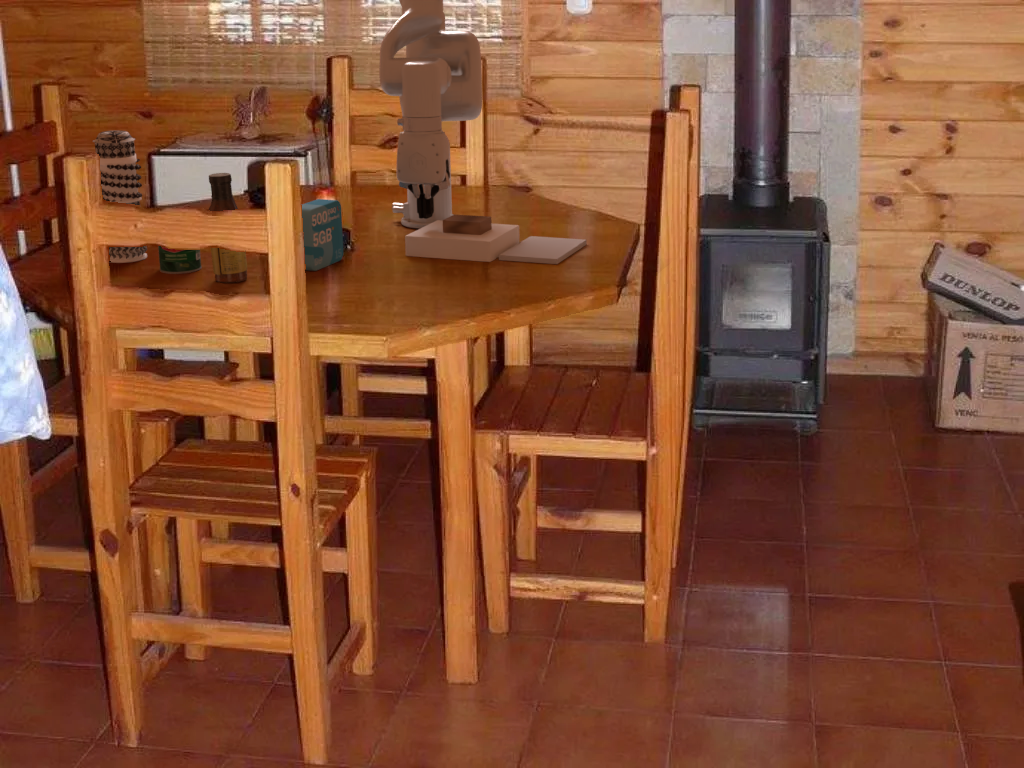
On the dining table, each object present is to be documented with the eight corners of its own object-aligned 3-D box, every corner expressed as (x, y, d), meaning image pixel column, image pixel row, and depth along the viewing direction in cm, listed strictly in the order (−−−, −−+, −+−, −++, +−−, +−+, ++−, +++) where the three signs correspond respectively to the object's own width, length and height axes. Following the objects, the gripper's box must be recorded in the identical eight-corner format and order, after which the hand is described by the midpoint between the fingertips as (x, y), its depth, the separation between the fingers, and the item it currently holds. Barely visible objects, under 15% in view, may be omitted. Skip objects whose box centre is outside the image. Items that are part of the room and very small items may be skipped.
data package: (312, 272, 281) (308, 210, 278) (292, 271, 283) (288, 208, 279) (344, 259, 292) (341, 198, 288) (324, 257, 294) (321, 197, 290)
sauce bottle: (254, 278, 278) (247, 172, 272) (235, 285, 273) (227, 178, 267) (225, 275, 281) (217, 170, 275) (205, 282, 275) (197, 176, 269)
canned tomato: (166, 275, 281) (160, 218, 278) (155, 267, 288) (150, 211, 284) (206, 270, 284) (202, 214, 281) (195, 262, 291) (190, 207, 288)
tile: (443, 232, 295) (442, 220, 294) (454, 226, 300) (454, 214, 299) (480, 235, 292) (480, 222, 291) (491, 229, 297) (491, 216, 297)
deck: (405, 255, 294) (404, 235, 292) (438, 239, 308) (437, 220, 307) (490, 261, 287) (489, 241, 286) (519, 244, 302) (519, 225, 300)
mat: (498, 259, 289) (498, 254, 289) (530, 240, 305) (530, 236, 304) (557, 264, 285) (557, 259, 284) (586, 244, 301) (586, 239, 300)
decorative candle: (158, 254, 299) (147, 129, 291) (133, 264, 290) (120, 136, 283) (119, 251, 302) (107, 128, 294) (93, 261, 293) (79, 134, 286)
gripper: (380, 126, 292) (383, 219, 297) (449, 128, 287) (452, 222, 292) (396, 122, 299) (399, 212, 304) (464, 124, 293) (467, 216, 299)
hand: (425, 217), depth 298 cm, fingers closed
